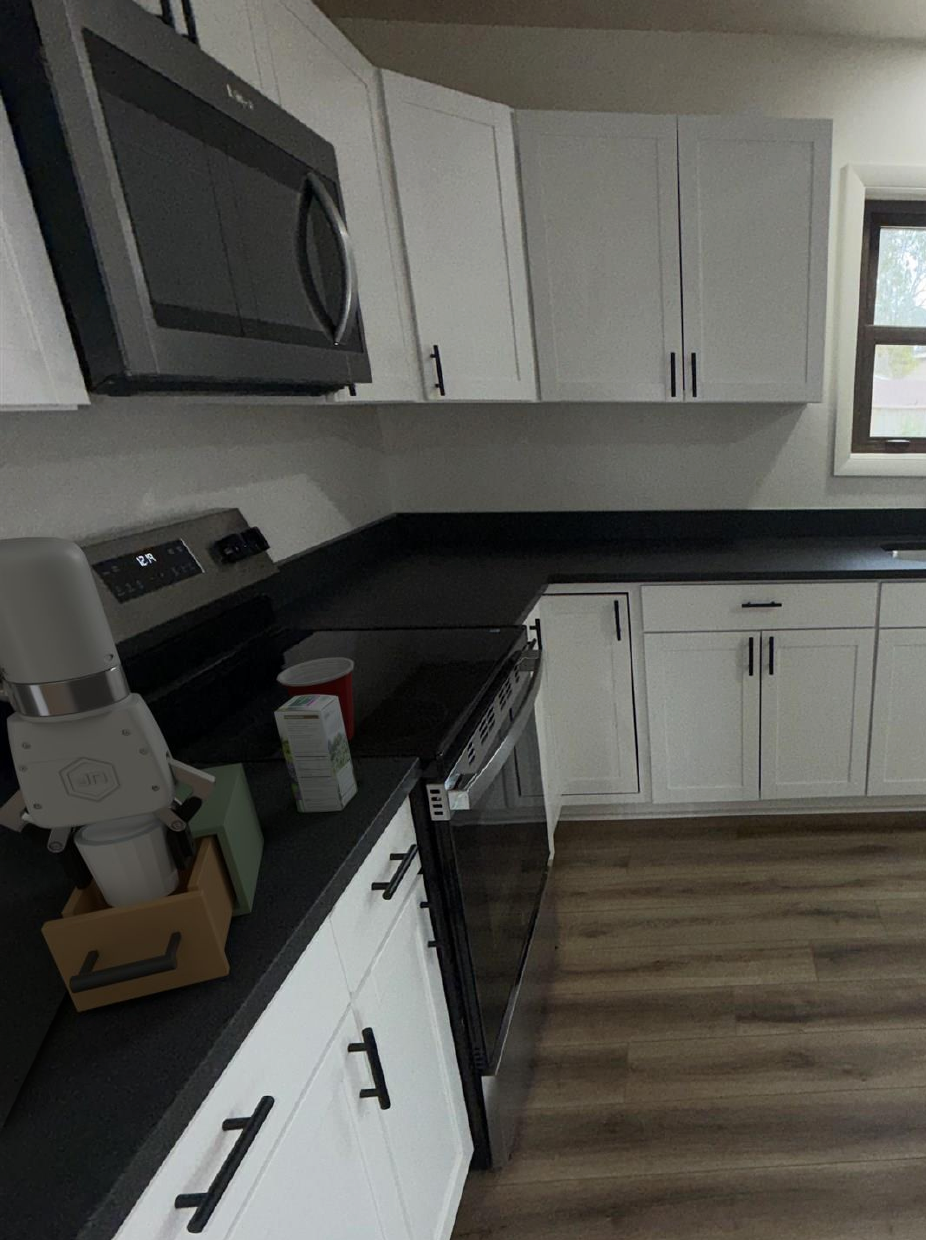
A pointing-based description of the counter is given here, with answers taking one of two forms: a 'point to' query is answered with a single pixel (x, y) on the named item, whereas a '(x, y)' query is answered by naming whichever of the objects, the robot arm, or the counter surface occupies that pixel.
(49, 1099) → the counter surface
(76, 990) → the drawer
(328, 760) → the syrup box
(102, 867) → the white cup
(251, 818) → the cabinet
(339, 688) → the plastic cup
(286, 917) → the counter surface
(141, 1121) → the counter surface
